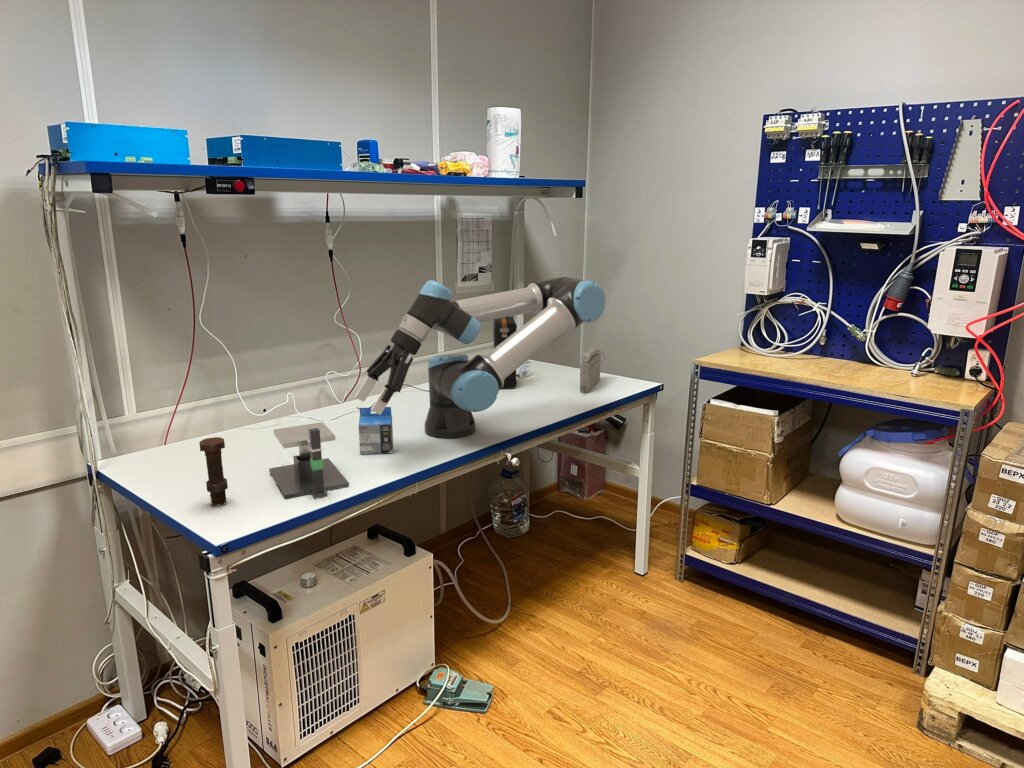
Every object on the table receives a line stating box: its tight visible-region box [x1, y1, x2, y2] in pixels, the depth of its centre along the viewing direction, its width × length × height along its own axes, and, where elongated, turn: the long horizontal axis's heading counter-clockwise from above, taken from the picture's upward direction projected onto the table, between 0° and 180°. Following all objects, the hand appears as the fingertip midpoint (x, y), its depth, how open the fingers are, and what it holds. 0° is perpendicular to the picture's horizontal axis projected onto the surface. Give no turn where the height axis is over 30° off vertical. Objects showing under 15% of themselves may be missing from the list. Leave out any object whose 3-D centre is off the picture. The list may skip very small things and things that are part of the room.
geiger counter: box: [579, 345, 606, 394], centre depth 252 cm, size 14×6×25 cm
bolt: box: [199, 436, 229, 507], centre depth 155 cm, size 6×5×15 cm
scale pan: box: [273, 422, 336, 461], centre depth 167 cm, size 12×16×7 cm
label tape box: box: [358, 406, 394, 455], centre depth 188 cm, size 9×4×12 cm, turn 95°
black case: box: [492, 316, 518, 389], centre depth 256 cm, size 16×9×25 cm, turn 4°
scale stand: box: [268, 428, 350, 500], centre depth 167 cm, size 15×22×16 cm
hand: (367, 405), depth 178 cm, fingers open, 13 cm apart
